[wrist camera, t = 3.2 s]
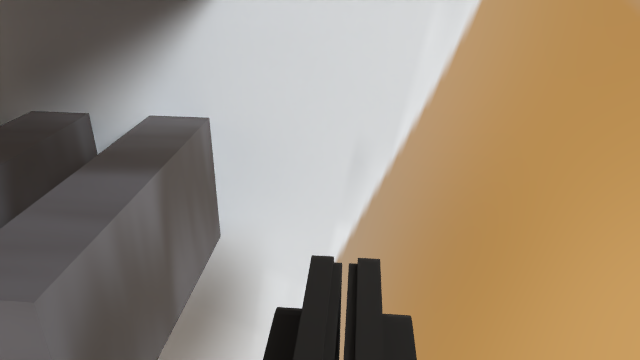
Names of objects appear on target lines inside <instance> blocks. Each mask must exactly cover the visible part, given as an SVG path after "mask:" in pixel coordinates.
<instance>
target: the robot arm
mask: <svg viewBox="0 0 640 360" xmlns="http://www.w3.org/2000/svg"><path fill="white" fill-rule="evenodd" d="M341 282H342V263H334V257H331V256H313V255H312V257H311V263H310V268H309V274H308V279H307V285H306V290H305V296H304V302H303V307H302V309H299V308H283V307H277V309H276V311H275V314H274V318H273V322H272V326H271V330H270V334H269V338H268V342H267V346H266V350H265V354H264V358H263V360H339V350H340V317H341V315H340V314H341V284H342V283H341ZM344 360H417V358H416V350H415V342H414V334H413V326H412V320H411V316H408V315H393V314H382V294H381V272H380V259H368V258H358V264H351V263H350V264H349V273H348V291H347V309H346V327H345V346H344Z"/></svg>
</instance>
